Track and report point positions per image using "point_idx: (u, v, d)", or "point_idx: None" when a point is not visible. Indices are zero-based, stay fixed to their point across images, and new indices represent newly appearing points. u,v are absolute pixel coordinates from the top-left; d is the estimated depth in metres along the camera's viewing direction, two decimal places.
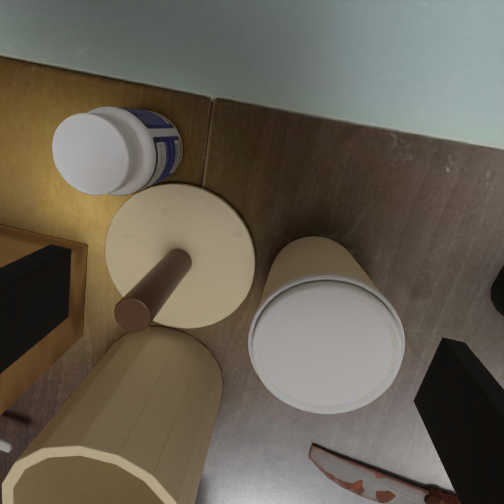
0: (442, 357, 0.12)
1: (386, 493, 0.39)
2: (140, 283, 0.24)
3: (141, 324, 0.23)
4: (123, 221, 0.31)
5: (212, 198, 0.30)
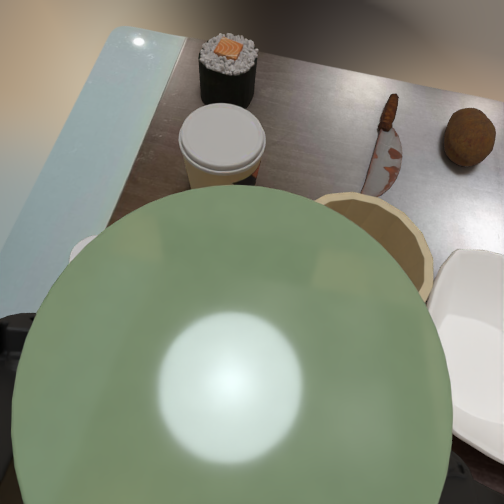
0: None
1: (391, 152, 0.54)
2: None
3: None
4: None
5: None
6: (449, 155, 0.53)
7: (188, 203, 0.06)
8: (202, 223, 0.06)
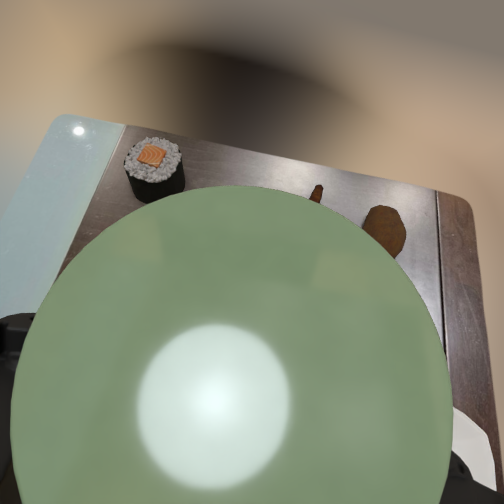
0: None
1: None
2: None
3: None
4: None
5: None
6: None
7: (187, 203, 0.06)
8: (202, 224, 0.06)
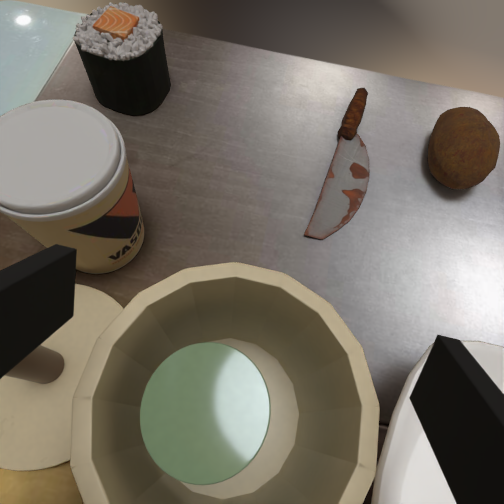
0: (437, 355, 0.12)
1: (355, 169, 0.39)
2: None
3: None
4: None
5: None
6: (434, 173, 0.38)
7: (189, 351, 0.17)
8: (193, 359, 0.17)
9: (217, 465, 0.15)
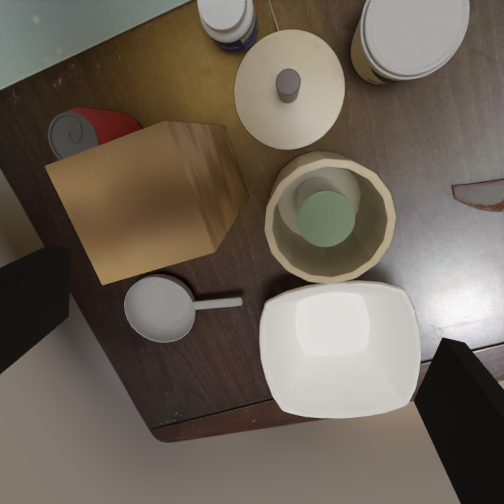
0: (441, 357, 0.12)
1: None
2: None
3: (295, 84, 0.35)
4: (241, 87, 0.45)
5: (289, 32, 0.42)
6: None
7: (344, 199, 0.37)
8: (341, 203, 0.37)
9: (309, 235, 0.38)
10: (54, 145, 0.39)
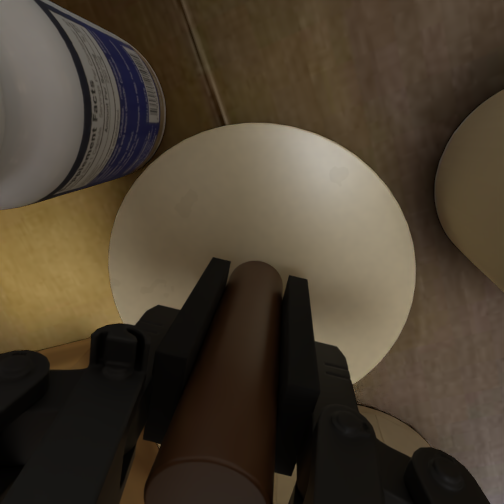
0: (285, 290, 0.14)
1: None
2: (191, 382, 0.08)
3: None
4: (127, 265, 0.16)
5: (256, 130, 0.14)
6: None
7: None
8: None
9: None
10: None
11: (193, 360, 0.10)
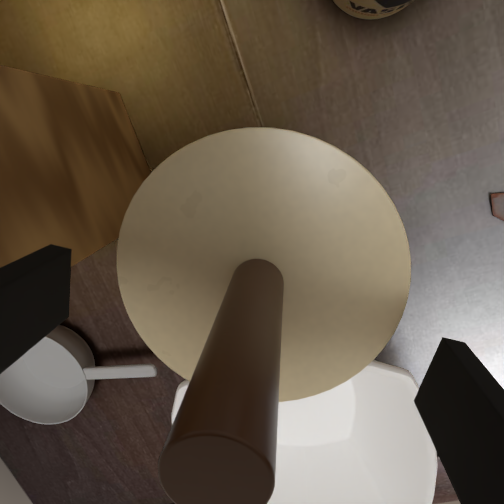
0: (441, 357, 0.12)
1: None
2: (199, 369, 0.09)
3: (252, 493, 0.07)
4: (134, 264, 0.17)
5: (257, 134, 0.15)
6: None
7: None
8: None
9: None
10: None
11: None
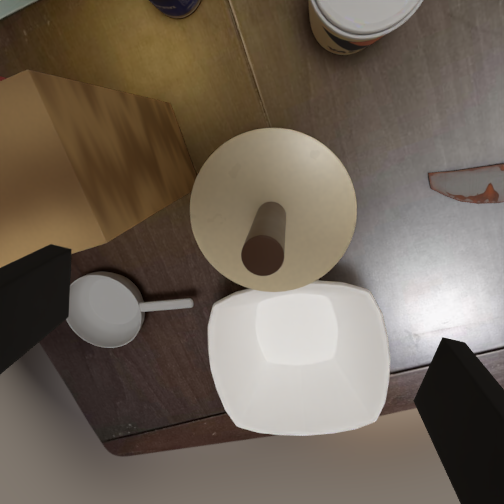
0: (441, 357, 0.12)
1: None
2: (251, 230, 0.22)
3: (276, 261, 0.20)
4: (200, 206, 0.30)
5: (272, 131, 0.27)
6: None
7: None
8: None
9: None
10: None
11: None
